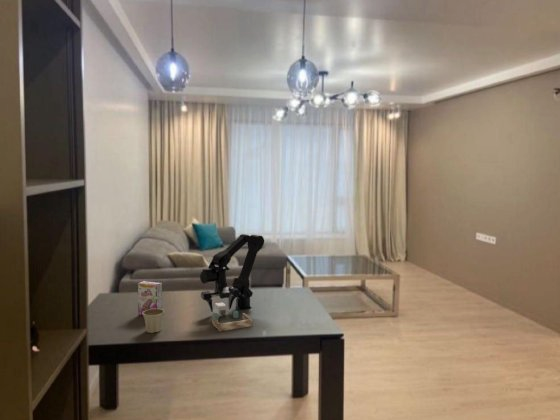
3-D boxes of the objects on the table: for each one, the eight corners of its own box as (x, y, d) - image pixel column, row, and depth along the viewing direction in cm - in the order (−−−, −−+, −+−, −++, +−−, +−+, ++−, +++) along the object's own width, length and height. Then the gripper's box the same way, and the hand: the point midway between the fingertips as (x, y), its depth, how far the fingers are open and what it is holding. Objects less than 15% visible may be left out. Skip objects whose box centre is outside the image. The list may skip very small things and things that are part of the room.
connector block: (222, 311, 219) (222, 302, 218) (227, 316, 212) (227, 306, 212) (215, 312, 217) (215, 303, 217) (219, 317, 211) (219, 307, 210)
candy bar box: (137, 315, 213) (136, 283, 211) (144, 312, 217) (143, 280, 216) (157, 318, 209) (156, 285, 208) (163, 315, 214) (162, 282, 212)
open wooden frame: (244, 318, 208) (244, 312, 208) (252, 325, 198) (252, 319, 198) (212, 323, 201) (212, 317, 201) (219, 331, 192) (218, 324, 191)
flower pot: (145, 327, 197) (144, 308, 196) (166, 326, 198) (166, 308, 197) (140, 334, 188) (140, 315, 187) (162, 334, 188) (162, 314, 188)
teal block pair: (236, 316, 212) (236, 310, 211) (238, 317, 210) (238, 311, 210) (213, 320, 206) (213, 313, 206) (214, 321, 205) (214, 315, 204)
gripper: (206, 285, 203) (207, 318, 204) (243, 281, 211) (244, 312, 212) (200, 280, 213) (200, 311, 214) (236, 276, 221) (236, 306, 222)
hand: (220, 310), depth 215 cm, fingers open, 9 cm apart
